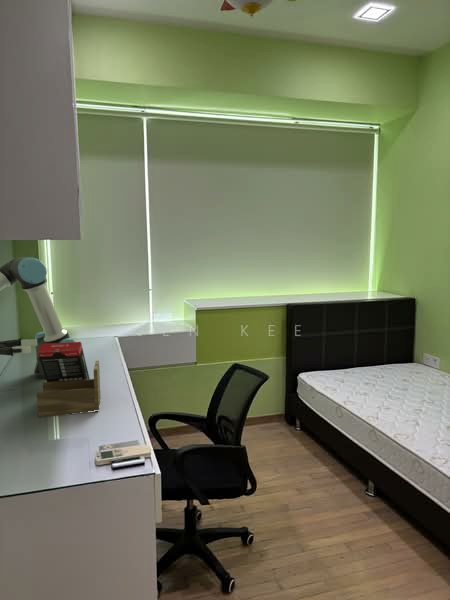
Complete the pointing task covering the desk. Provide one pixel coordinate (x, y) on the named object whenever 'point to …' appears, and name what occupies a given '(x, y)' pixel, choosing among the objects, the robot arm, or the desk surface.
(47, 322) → the robot arm
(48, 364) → the graphics card box
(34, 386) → the desk surface
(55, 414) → the walnut shelf slot
